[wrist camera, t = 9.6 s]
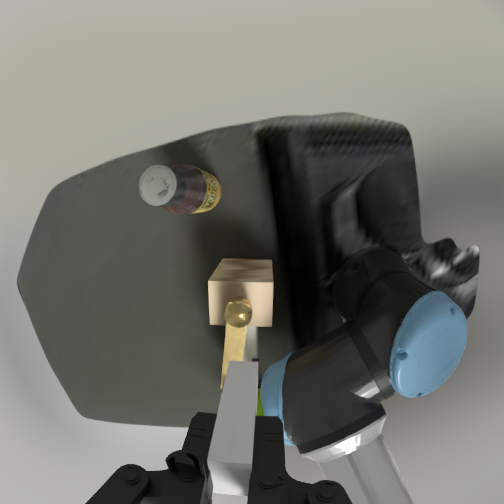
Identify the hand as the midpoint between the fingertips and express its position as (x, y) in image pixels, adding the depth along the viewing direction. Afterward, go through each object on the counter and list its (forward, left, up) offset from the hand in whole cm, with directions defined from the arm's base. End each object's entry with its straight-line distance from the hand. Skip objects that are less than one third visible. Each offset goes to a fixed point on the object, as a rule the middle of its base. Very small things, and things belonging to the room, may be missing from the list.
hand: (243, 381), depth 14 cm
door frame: (+2, +11, -32) cm, 34 cm away
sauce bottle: (+9, -10, -33) cm, 35 cm away
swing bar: (+3, +9, -19) cm, 21 cm away
